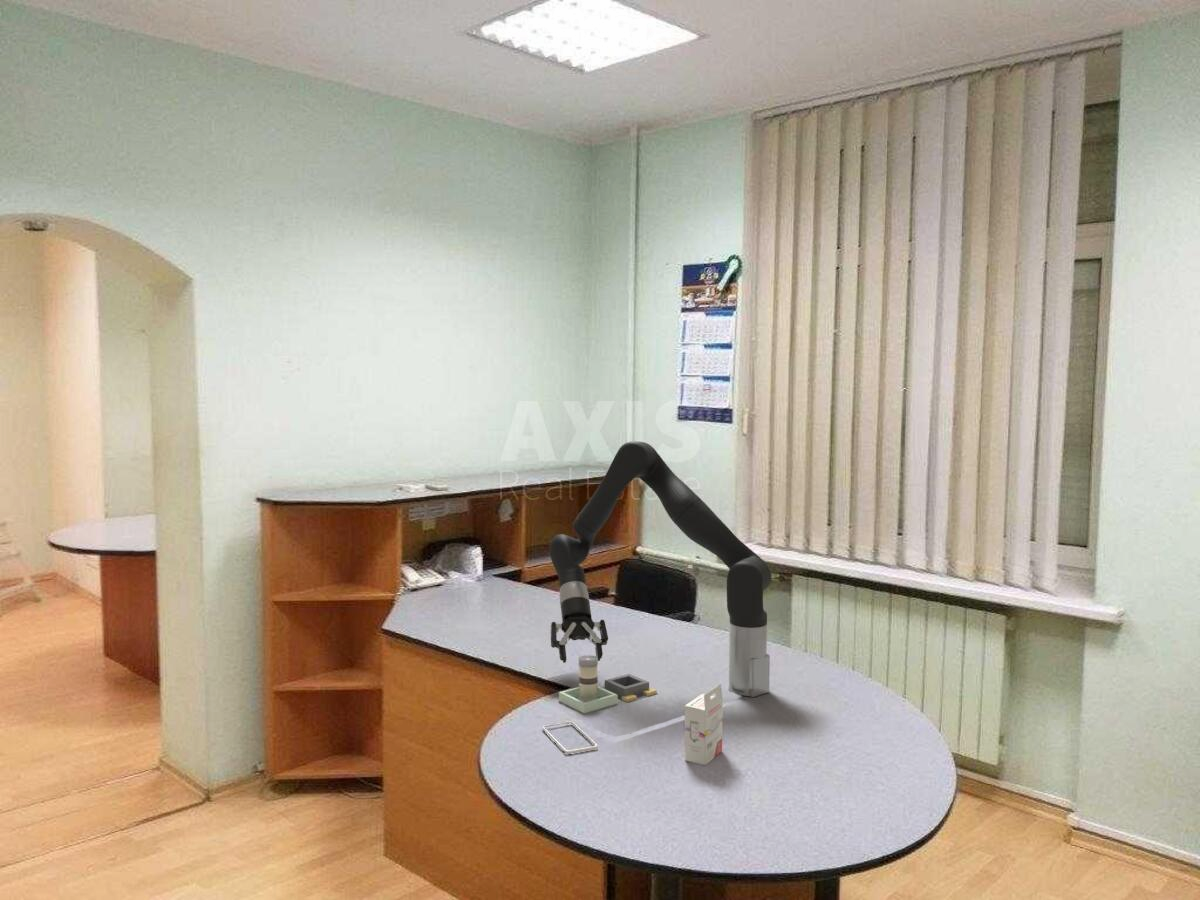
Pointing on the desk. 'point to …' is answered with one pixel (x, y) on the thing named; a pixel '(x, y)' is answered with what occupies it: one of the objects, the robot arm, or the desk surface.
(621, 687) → the holder
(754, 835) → the desk surface
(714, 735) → the ink cartridge box
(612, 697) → the tray
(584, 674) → the grey beige cylinder
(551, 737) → the phone case
